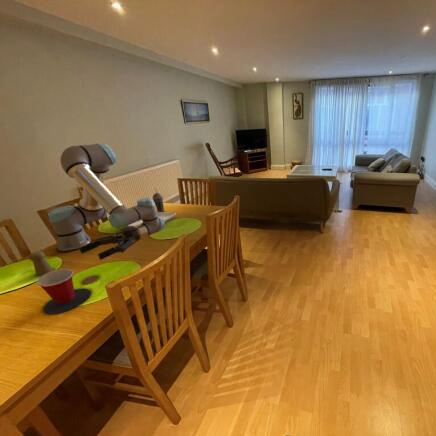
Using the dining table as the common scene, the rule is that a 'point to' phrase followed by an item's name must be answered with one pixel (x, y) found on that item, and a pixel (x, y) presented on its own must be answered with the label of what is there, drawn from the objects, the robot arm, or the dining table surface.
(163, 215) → the square plate
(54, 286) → the plastic cup
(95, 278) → the cork coaster
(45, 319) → the dining table surface
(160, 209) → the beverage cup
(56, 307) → the slate mat
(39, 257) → the pepper shaker
